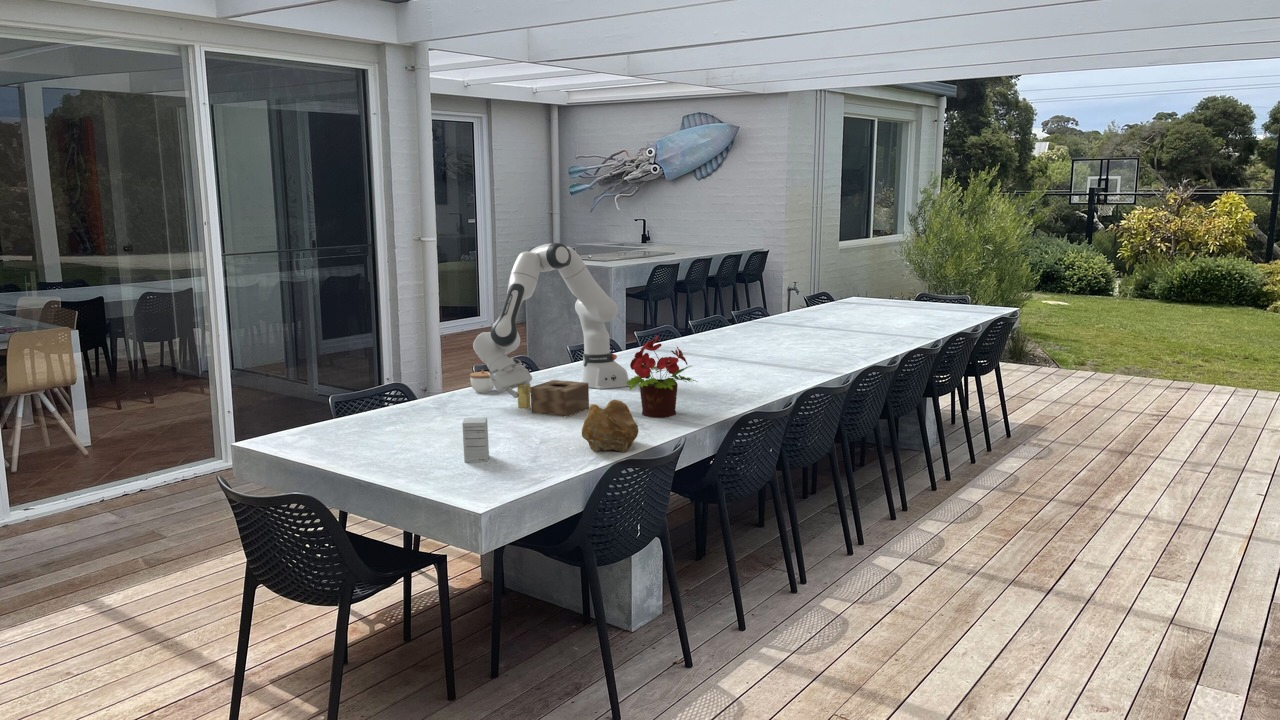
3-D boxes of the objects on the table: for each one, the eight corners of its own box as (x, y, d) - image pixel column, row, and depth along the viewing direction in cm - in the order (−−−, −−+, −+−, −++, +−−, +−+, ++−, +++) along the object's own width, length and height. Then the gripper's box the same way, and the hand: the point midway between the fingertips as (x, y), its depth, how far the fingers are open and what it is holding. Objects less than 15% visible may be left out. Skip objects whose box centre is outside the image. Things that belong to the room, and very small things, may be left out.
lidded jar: (498, 389, 409) (498, 367, 407) (492, 394, 399) (491, 372, 397) (474, 389, 410) (473, 367, 409) (467, 394, 400) (466, 372, 398)
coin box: (531, 413, 362) (530, 387, 360) (553, 404, 376) (553, 379, 374) (567, 416, 355) (566, 390, 353) (589, 408, 369) (588, 382, 367)
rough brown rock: (619, 462, 295) (623, 415, 293) (573, 452, 302) (576, 406, 300) (652, 447, 316) (655, 403, 313) (608, 438, 323) (611, 395, 320)
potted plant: (650, 404, 374) (649, 328, 369) (709, 412, 359) (708, 333, 354) (604, 418, 351) (602, 338, 346) (665, 428, 335) (664, 343, 330)
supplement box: (465, 456, 302) (464, 417, 300) (489, 455, 303) (487, 416, 300) (463, 462, 295) (461, 422, 293) (487, 461, 295) (486, 422, 293)
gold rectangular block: (518, 408, 371) (517, 385, 370) (521, 406, 373) (521, 384, 372) (526, 408, 369) (526, 386, 368) (530, 407, 372) (529, 384, 370)
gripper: (491, 367, 363) (513, 394, 360) (521, 358, 381) (543, 384, 378) (482, 377, 366) (504, 405, 363) (512, 369, 383) (534, 395, 381)
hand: (524, 394), depth 370 cm, fingers open, 8 cm apart
